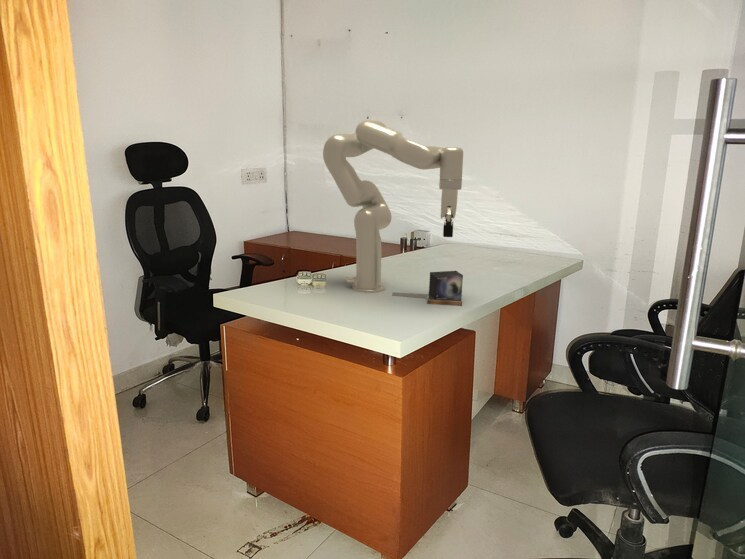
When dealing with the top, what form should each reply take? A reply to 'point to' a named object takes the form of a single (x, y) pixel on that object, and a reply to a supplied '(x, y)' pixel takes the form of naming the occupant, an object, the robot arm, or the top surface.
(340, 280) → the top surface
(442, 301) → the brown open frame
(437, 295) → the small box
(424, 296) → the rubber mat
